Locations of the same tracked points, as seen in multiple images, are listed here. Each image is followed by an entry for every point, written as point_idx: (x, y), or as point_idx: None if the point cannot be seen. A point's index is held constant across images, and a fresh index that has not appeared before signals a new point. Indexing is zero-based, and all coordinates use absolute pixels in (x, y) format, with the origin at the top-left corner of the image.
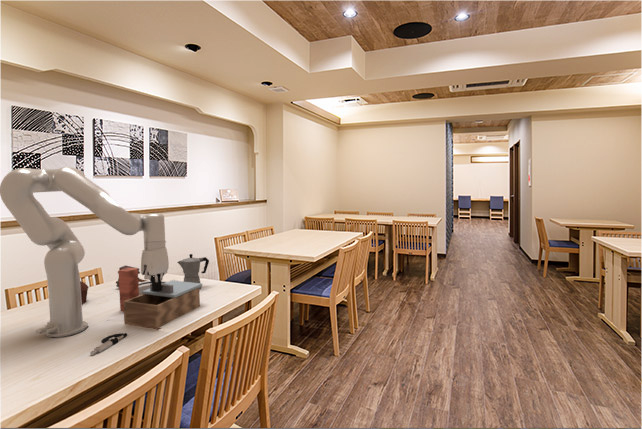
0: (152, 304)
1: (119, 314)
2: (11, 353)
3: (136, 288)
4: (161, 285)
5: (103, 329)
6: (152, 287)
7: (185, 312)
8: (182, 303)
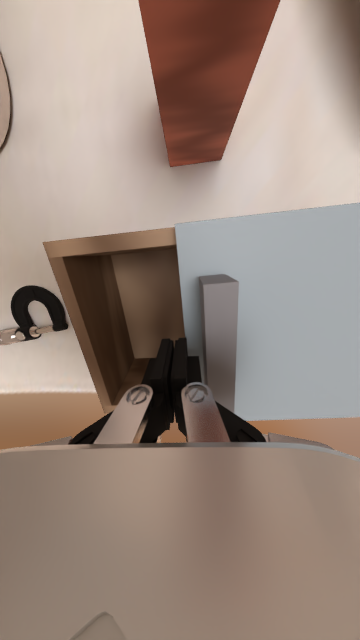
0: (105, 390)
1: (150, 112)
2: None
3: (237, 47)
4: (207, 381)
5: (44, 219)
6: (148, 366)
7: None
8: None
